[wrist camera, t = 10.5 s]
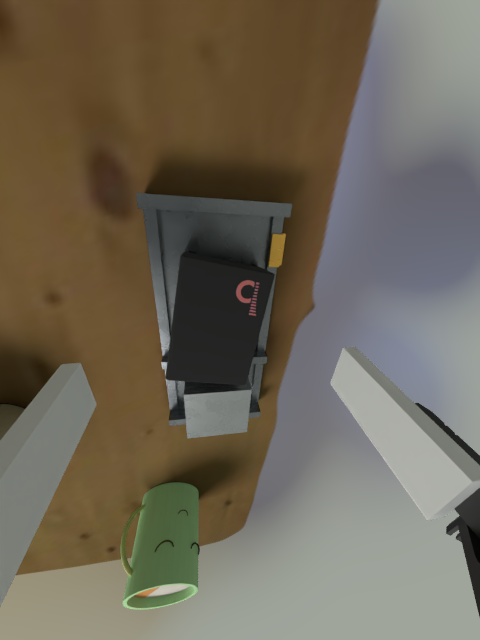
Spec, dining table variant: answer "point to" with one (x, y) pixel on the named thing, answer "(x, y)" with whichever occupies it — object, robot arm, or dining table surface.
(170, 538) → the mug
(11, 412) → the flower pot
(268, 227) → the dark gray tray
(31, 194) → the dining table surface
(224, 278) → the electronic device
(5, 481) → the robot arm
